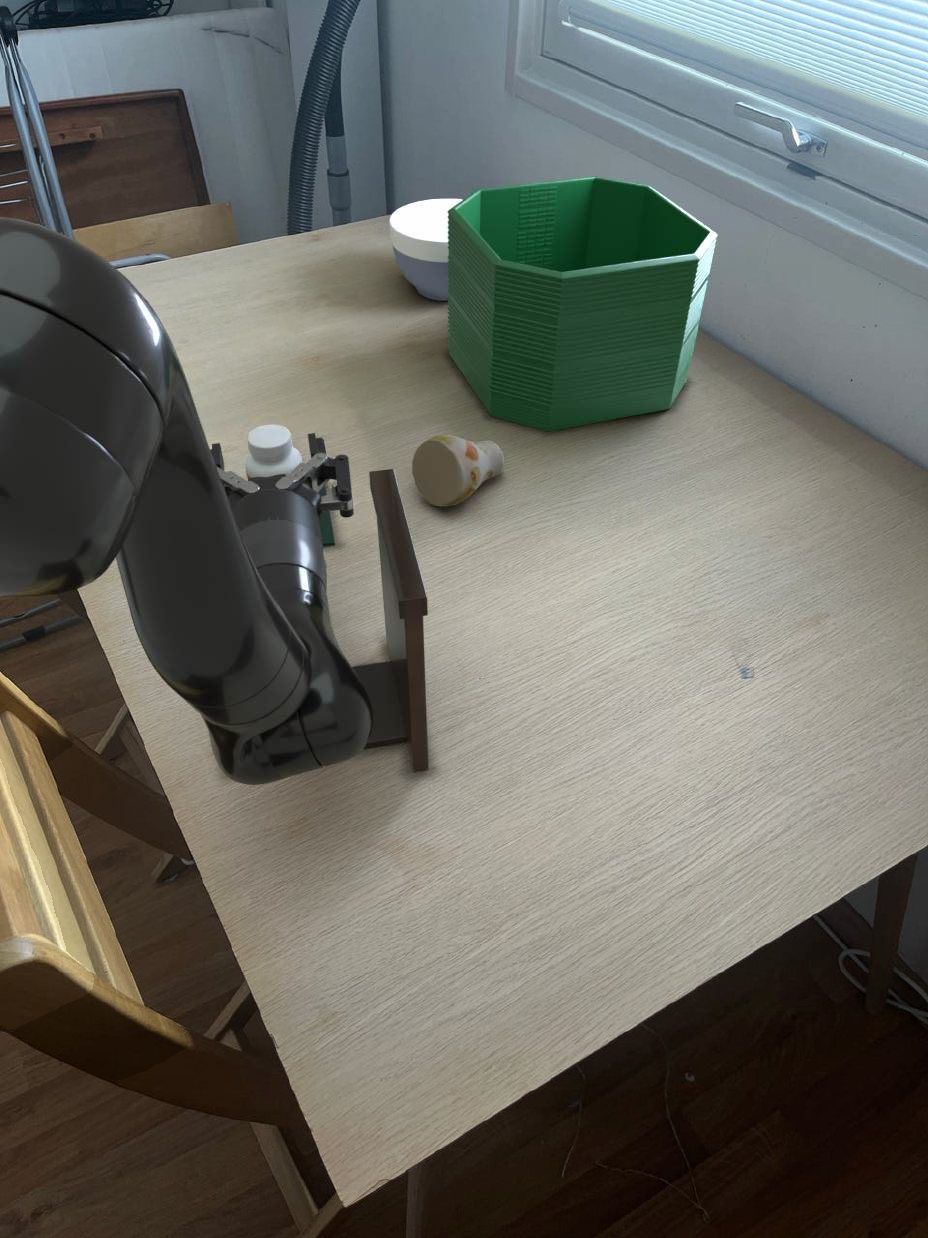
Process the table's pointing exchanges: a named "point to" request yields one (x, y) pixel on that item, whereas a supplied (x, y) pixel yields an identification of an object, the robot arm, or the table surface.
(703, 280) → the planter
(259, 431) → the supplement bottle
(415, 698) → the stand
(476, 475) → the fruit print bud vase
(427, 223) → the bowl
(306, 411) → the table surface
